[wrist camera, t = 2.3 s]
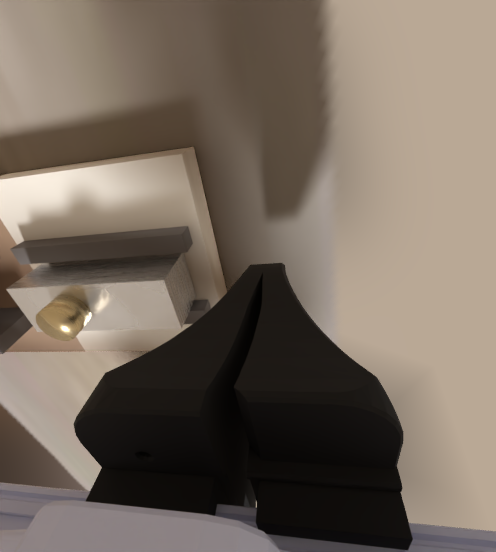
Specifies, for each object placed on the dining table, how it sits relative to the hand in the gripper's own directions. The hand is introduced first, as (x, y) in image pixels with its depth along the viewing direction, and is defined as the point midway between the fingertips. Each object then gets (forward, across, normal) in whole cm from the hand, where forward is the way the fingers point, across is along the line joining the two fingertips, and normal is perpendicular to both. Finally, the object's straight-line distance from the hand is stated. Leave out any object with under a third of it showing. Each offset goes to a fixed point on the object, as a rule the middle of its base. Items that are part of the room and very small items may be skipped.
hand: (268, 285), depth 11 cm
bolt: (+1, +7, 0) cm, 7 cm away
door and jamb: (+3, +10, 0) cm, 10 cm away
